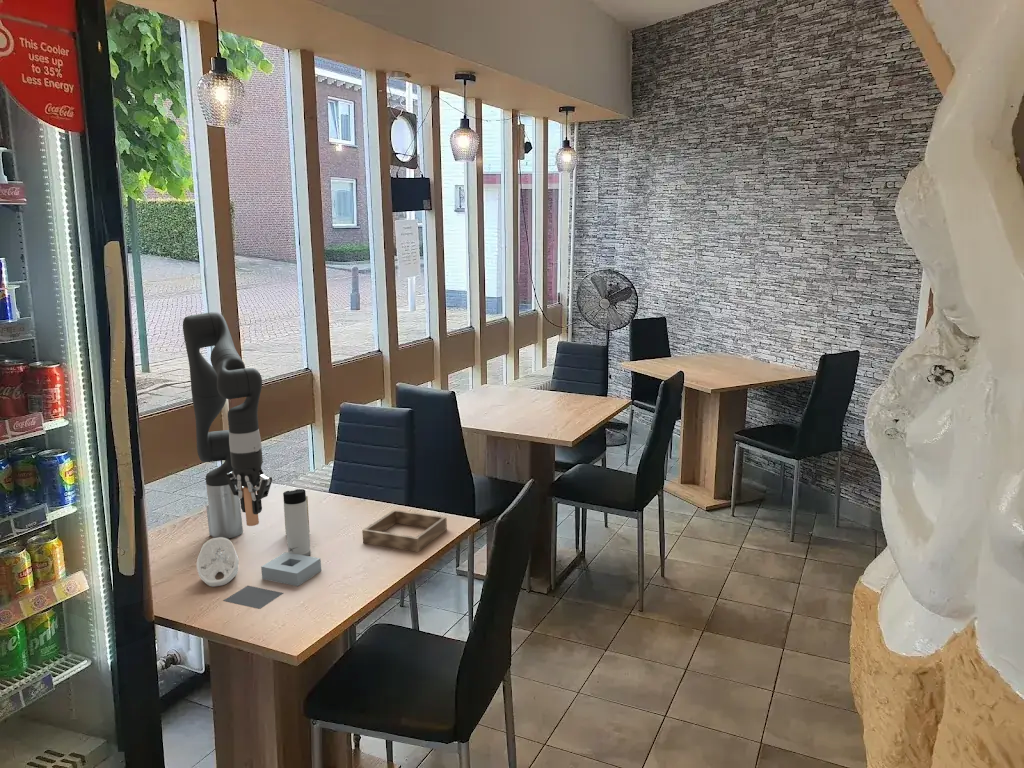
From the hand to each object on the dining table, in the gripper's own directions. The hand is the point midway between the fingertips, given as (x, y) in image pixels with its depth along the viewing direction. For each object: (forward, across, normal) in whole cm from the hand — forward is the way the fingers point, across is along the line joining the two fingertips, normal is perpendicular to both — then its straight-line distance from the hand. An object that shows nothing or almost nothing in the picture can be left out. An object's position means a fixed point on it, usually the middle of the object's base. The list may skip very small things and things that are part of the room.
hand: (251, 512), depth 196 cm
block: (+23, +1, +11) cm, 25 cm away
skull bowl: (+23, -16, +3) cm, 29 cm away
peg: (+3, 0, 0) cm, 3 cm away
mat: (+23, 0, -3) cm, 23 cm away
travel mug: (+23, -6, +23) cm, 33 cm away
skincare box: (+23, -17, +36) cm, 46 cm away
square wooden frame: (+23, +16, +46) cm, 54 cm away
